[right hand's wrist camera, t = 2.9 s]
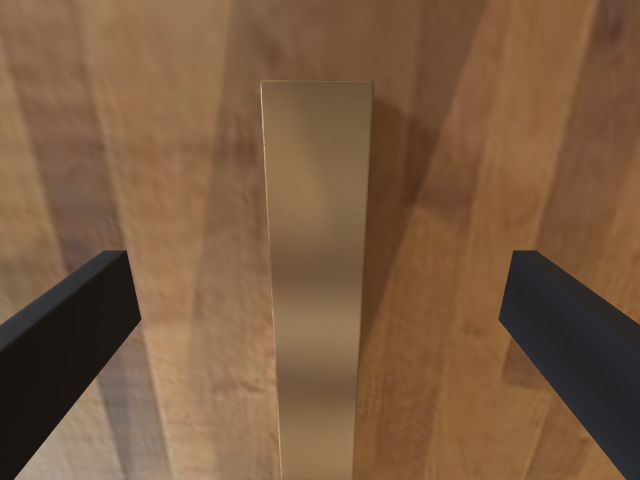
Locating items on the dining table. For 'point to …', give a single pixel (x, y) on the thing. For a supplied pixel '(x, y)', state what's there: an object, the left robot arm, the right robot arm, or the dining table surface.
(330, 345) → the plank
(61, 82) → the dining table surface
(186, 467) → the dining table surface
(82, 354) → the right robot arm
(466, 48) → the dining table surface
